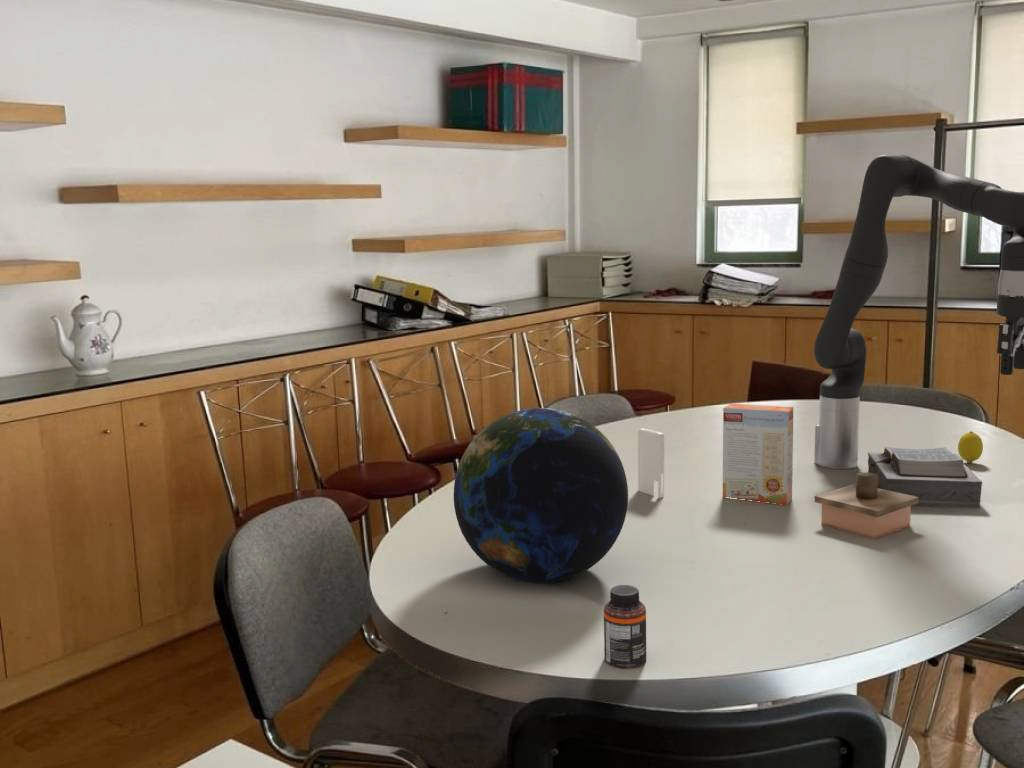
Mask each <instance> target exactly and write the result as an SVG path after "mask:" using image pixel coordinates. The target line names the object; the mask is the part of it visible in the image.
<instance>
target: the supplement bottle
mask: <svg viewBox="0 0 1024 768" xmlns="http://www.w3.org/2000/svg"><path fill="white" fill-rule="evenodd" d="M609 594H610V595H609V596H610V597H609V598H610V600H609V601H607V602H606V603H605V605H604V608H603V635H604V637H603V638H604V640H603V641H604V642H603V643H604V646H603V647H604V650H603V652H604V662H605V663H606V664H607V665H608V666H611V667H613V668H616V669H623V670H631V669H632V670H633V669H638V668H641V667H643V666H645V664H646V663H647V609H646V606H645V604H644V603H643V602H642V601H641V600H640V590H639V588H638V587H636V586H634V585H631V584H630V585H628V584H618V585H615V586H613V587H611V588H610V593H609Z"/></svg>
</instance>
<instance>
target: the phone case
mask: <svg viewBox="0 0 1024 768" xmlns="http://www.w3.org/2000/svg"><path fill="white" fill-rule="evenodd" d="M637 477H638V478H637V490H638V492H641V493H643V494H646V495H650V496H653V497H655V482H657V483H658V485H657V486H658V487H657V488H658V491H657V498H659V499H660V498H665V435H664V433H663V432H661V431H656V430H652V429H647V428H639V429H638V431H637Z"/></svg>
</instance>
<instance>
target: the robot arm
mask: <svg viewBox="0 0 1024 768" xmlns="http://www.w3.org/2000/svg"><path fill="white" fill-rule="evenodd" d="M861 187H862V189H861V193H860V194H861V195H860V198H859V203H858V208H857V209H858V210H857V214H856V217H855V221H854V224H853V229H852V232H851V235H850V239H849V243H848V245H847V248H846V251H845V254H844V257H843V259H842V260H843V261H842V264H841V267H840V270H839V271H840V272H839V275H838V280H837V282H836V286H835V289H834V291H833V294H832V298H831V301H830V304H829V307H828V310H827V312H826V315H825V317H824V319H823V321H822V324H821V325H820V326H821V327H820V328H819V330H818V333H817V336H816V339H815V342H814V347H813V352H814V353H813V355H814V359H815V361H816V363H817V364H818V366H820V367H822V368H823V369H827V370H831V372H830V374H829V376H828V377H827V378H826V379H824V381H822V382H821V383H820V386H819V412H818V413H819V416H818V417H819V418H818V424H816V425H815V428H814V429H815V430H814V464H816V465H818V466H820V467H823V468H826V469H834V470H849V469H855V468H857V467H858V463H859V461H858V460H859V434H860V432H859V430H860V426H859V425H860V399H861V398H860V397H861V396H860V395H861V389H862V387H863V384H864V382H865V376H866V375H865V373H866V372H865V371H866V362H867V345H866V340H865V337H864V336H863V334H862V333H861V332H860V331H859V330H857V329H855V328H852V327H853V324H854V321H855V319H856V317H857V316H858V314H859V313H860V311H861V309H862V308H863V307H864V306H865V305H866V303H868V301H869V299H870V298H871V297H872V296H873V295H874V294H875V292H876V290H877V289H878V287H879V285H880V283H881V280H882V278H883V274H884V272H885V269H886V265H887V263H888V257H889V247H888V239H887V235H886V219H887V215H888V211H889V208H890V206H891V202H892V201H893V198H899V197H904V196H908V197H909V196H911V197H912V196H913V197H923V198H927V199H932V200H934V201H938V202H940V203H942V204H943V205H945V206H947V207H949V208H950V209H954V210H956V211H958V212H962V213H964V214H965V213H966V214H969V215H973V216H977V217H980V218H981V217H982V218H984V219H985V220H988V221H991V222H992V223H994V224H996V225H999V226H1003V227H1007V228H1011V229H1013V234H1012V237H1011V238H1010V239H1009V240H1008V241H1006V242H1005V243H1003V245H1002V247H1001V254H1000V255H1001V257H1000V258H1001V261H1000V271H999V276H998V277H999V278H998V282H997V283H998V284H997V299H996V300H997V302H996V315H997V316H999V317H1004V318H1005V321H1004V323H1000V324H999V326H998V337H997V338H998V339H997V348H996V353H997V354H999V356H1000V357H1001V358H1000V372H999V373H1000V374H1001V375H1003V376H1011V375H1013V373H1014V369H1015V370H1017V369H1018V370H1024V191H1020V192H1018V191H1014V190H1013V191H1012V190H1008V189H1004V188H1002V187H1001V186H1000V185H997V184H995V183H993V182H988V181H985V180H981V179H977V178H973V177H968V176H964V175H959V174H953V173H952V172H951V173H950V172H946V171H944V170H940V169H939V168H938V169H937V168H935V167H933V166H930V165H928V164H927V163H924V162H923V161H921V160H918V159H916V158H913V157H911V156H909V155H906V154H882V155H881V154H880V155H878V156H875V158H873V159H872V160H871V161H870V163H869V165H868V166H867V169H866V170H865V174H864V178H863V182H862V186H861Z"/></svg>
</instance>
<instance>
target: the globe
mask: <svg viewBox="0 0 1024 768" xmlns="http://www.w3.org/2000/svg"><path fill="white" fill-rule="evenodd" d="M453 484H454V485H453V507H454V512H455V517H456V520H457V523H458V527H459V529H460V532H461V534H462V536H463V538H464V539H465V542H466V543H467V544H468V546H469V547H470V548H471V550H472V551H473V552H474V553H475V555H476V556H478V557H479V559H480V560H481V561H483V563H485V564H486V565H487V566H489V567H490V568H491V569H493V570H495V571H496V572H498V573H500V574H501V575H503V576H506V577H508V578H511V579H514V580H517V581H521V582H524V583H525V582H526V583H535V584H536V583H537V584H545V583H546V584H547V583H548V584H549V583H555V582H561V581H565V580H568V579H571V578H573V577H576V576H578V575H580V574H583V573H585V572H587V571H588V570H589V569H591V568H593V566H595V565H596V564H598V563H599V562H600V561H601V560H603V558H604V557H605V556H606V555H607V554H608V553H609V551H610V550H611V549H612V548H613V546H614V544H615V543H616V541H617V539H618V538H619V536H620V534H621V532H622V529H623V526H624V523H625V520H626V517H627V511H628V506H629V486H628V480H627V476H626V471H625V468H624V465H623V463H622V460H621V458H620V456H619V454H618V452H617V451H616V448H615V447H614V446H613V444H612V442H611V441H610V440H609V439H608V438H607V437H606V435H605V434H604V433H602V432H601V430H599V429H598V428H597V427H596V426H595V425H594V424H592V423H590V422H589V421H588V420H586V419H584V418H582V417H580V416H579V415H576V414H573V413H570V412H568V411H565V410H561V409H555V408H549V407H548V408H546V407H535V408H525V409H521V410H516V411H514V412H513V411H512V412H510V413H508V414H505V415H504V416H503V415H502V416H500V417H499V418H498V419H496V420H494V421H492V422H491V423H489V424H488V425H486V427H484V428H483V429H482V430H481V431H480V432H479V433H478V434H476V436H475V437H474V438H473V439H472V440H471V441H470V443H469V445H468V446H467V448H466V449H465V451H464V453H463V455H462V456H461V460H460V462H459V464H458V467H457V470H456V473H455V478H454V483H453Z"/></svg>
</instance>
